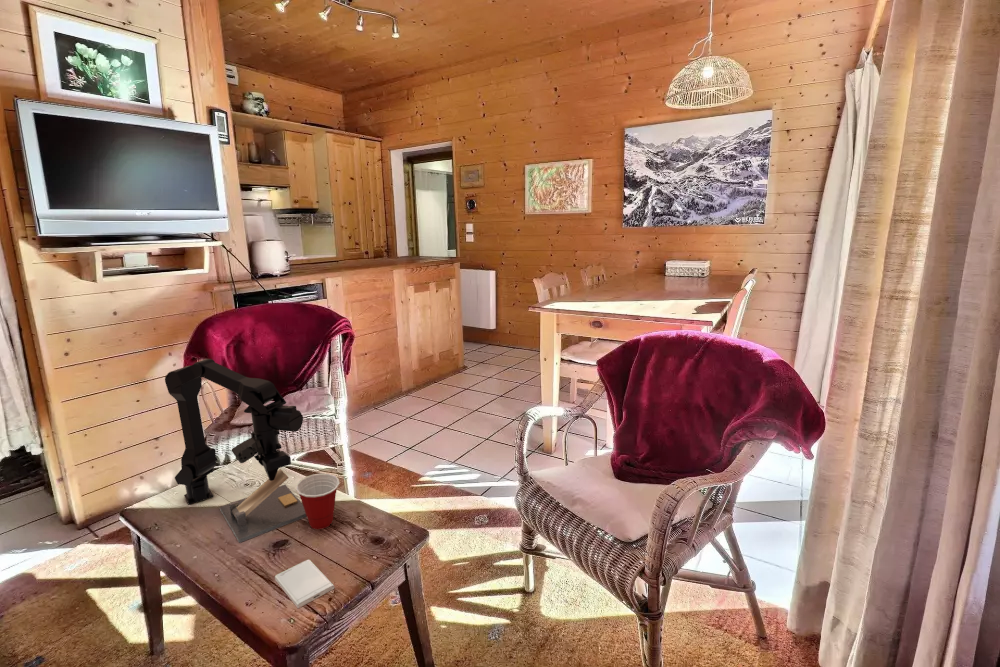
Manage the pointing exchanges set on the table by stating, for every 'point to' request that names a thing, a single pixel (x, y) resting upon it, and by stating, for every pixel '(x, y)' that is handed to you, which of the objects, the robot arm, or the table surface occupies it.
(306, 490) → the plastic cup
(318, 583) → the hard drive
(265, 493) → the lever
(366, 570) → the table surface
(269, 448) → the robot arm
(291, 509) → the mounting plate
